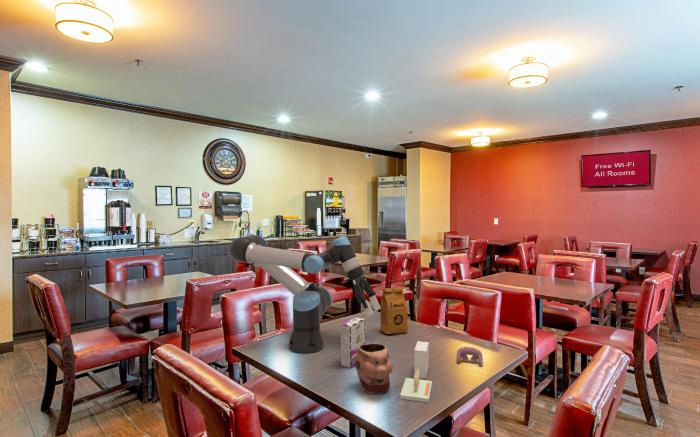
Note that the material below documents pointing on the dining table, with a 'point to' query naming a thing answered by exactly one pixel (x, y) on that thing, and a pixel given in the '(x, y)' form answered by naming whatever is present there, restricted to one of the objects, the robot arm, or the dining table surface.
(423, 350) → the block
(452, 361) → the dining table surface
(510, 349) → the dining table surface
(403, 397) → the board
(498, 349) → the dining table surface
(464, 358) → the video game controller
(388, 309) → the coffee package
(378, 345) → the decorative planter
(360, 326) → the candy bar box
